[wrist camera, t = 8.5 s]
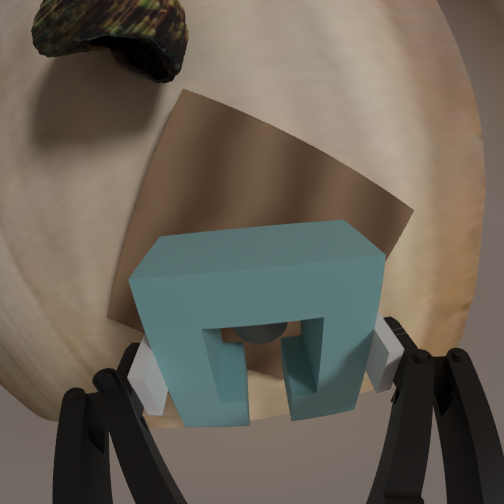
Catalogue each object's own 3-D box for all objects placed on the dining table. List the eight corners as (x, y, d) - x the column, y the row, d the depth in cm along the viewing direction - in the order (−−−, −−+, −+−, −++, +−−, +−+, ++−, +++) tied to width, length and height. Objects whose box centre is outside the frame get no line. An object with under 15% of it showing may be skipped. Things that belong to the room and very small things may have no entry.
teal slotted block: (159, 236, 15) (128, 279, 10) (343, 219, 15) (385, 255, 10) (193, 370, 18) (185, 426, 14) (333, 356, 19) (353, 409, 14)
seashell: (78, 118, 18) (-5, 118, 9) (76, 12, 14) (14, -24, 4) (199, 84, 18) (169, 41, 9) (189, -25, 13) (166, -94, 4)
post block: (114, 305, 25) (76, 368, 16) (187, 93, 18) (154, 63, 10) (295, 368, 29) (311, 435, 20) (402, 204, 22) (468, 239, 14)
